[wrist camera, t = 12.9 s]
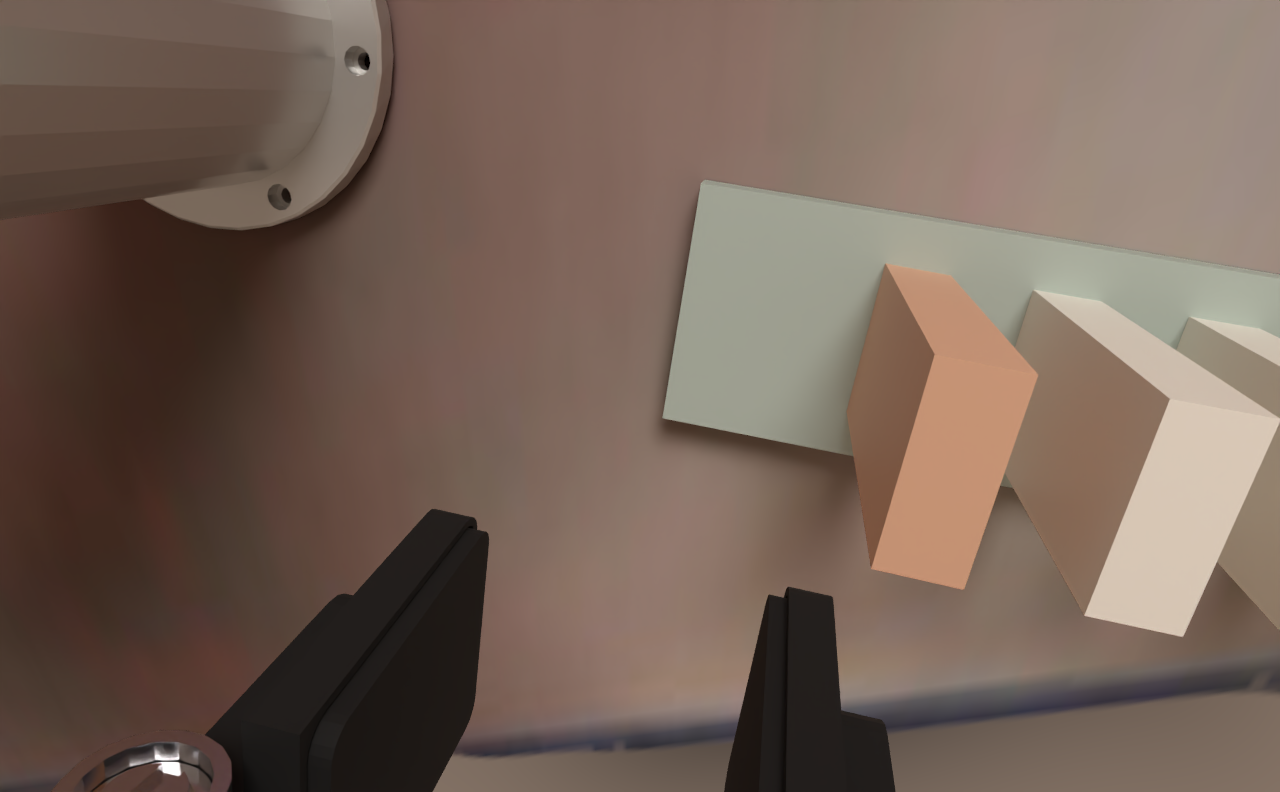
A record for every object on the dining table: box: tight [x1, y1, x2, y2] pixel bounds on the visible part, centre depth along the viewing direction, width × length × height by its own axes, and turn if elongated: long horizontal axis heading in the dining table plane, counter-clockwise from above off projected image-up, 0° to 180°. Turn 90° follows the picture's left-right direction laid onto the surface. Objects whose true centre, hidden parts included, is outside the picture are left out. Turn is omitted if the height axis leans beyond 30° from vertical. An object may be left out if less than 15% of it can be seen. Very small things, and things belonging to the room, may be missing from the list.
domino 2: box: [1005, 290, 1280, 637], centre depth 21 cm, size 2×5×10 cm, turn 172°
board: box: [663, 180, 1280, 488], centre depth 26 cm, size 27×8×1 cm, turn 82°
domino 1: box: [846, 263, 1038, 590], centre depth 22 cm, size 2×5×10 cm, turn 171°
